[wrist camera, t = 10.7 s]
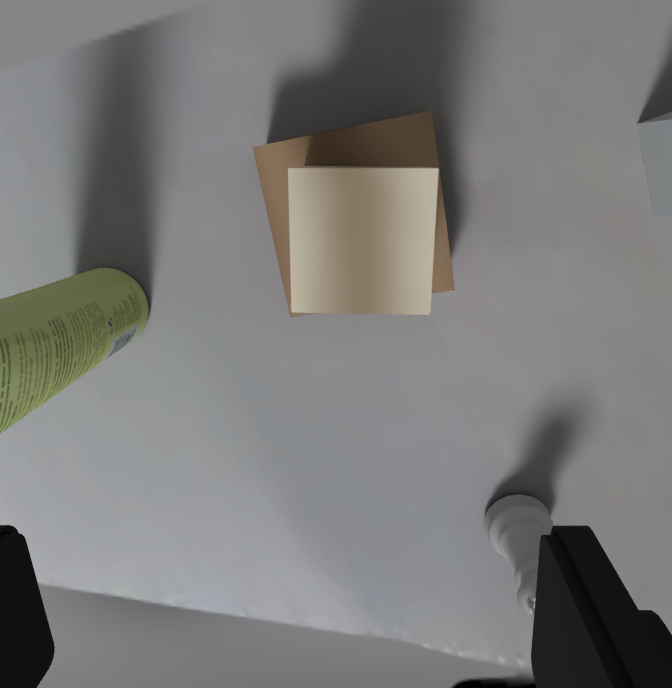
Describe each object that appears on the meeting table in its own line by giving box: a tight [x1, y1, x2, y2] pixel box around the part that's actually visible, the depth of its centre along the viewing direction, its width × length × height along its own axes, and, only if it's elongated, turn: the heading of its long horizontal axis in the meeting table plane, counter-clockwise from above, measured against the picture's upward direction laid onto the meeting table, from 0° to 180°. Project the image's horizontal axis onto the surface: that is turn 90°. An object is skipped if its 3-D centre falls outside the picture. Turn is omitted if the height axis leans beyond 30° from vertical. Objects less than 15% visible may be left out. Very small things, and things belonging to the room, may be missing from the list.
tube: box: [0, 268, 149, 434], centre depth 25 cm, size 6×5×20 cm
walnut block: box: [253, 110, 455, 317], centre depth 30 cm, size 9×9×4 cm
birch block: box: [288, 166, 439, 315], centre depth 26 cm, size 6×6×6 cm
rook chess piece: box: [484, 494, 553, 620], centre depth 34 cm, size 4×4×8 cm
